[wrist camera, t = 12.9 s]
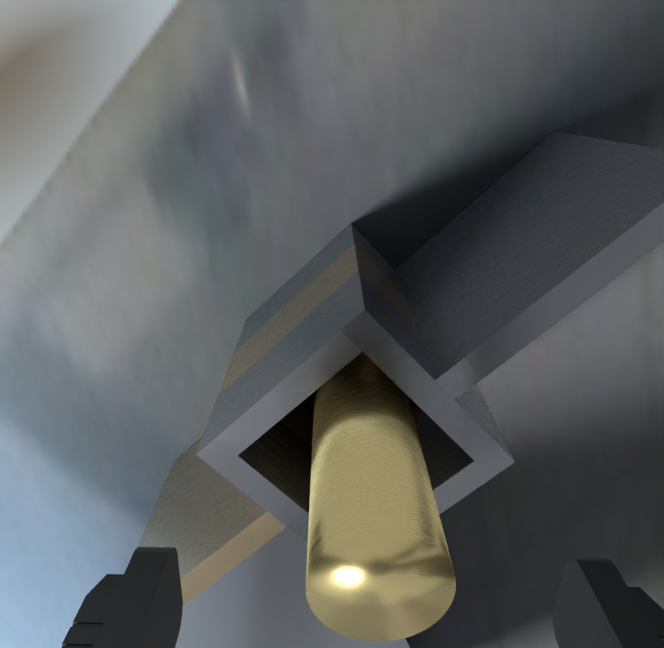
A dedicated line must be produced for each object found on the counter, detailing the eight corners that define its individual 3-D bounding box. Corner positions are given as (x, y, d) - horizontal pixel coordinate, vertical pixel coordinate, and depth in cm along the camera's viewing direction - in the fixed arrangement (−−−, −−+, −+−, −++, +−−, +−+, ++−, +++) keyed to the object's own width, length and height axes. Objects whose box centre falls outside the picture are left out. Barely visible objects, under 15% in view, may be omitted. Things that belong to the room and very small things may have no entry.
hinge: (511, 74, 20) (655, 58, 11) (603, 198, 22) (791, 270, 13) (130, 427, 26) (26, 600, 17) (227, 502, 28) (178, 695, 19)
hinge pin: (389, 289, 23) (464, 532, 10) (384, 353, 24) (447, 643, 12) (318, 288, 23) (306, 529, 10) (317, 352, 24) (304, 640, 11)
